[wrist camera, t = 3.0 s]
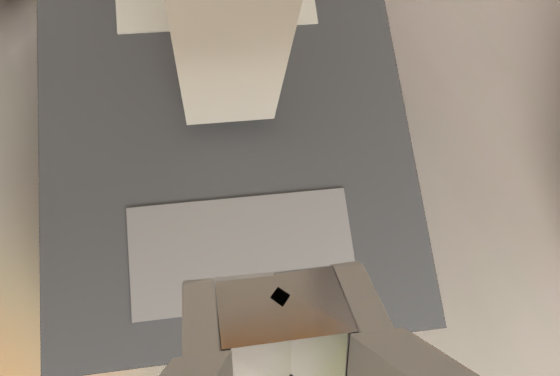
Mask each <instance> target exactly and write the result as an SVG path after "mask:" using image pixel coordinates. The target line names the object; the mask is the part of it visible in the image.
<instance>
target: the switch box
mask: <svg viewBox="0 0 560 376" xmlns="http://www.w3.org/2000/svg"><path fill="white" fill-rule="evenodd" d="M37 63H38V154H39V244H40V335H41V376H83V375H91V374H99V373H106V372H114V371H121V370H129V369H137V368H144V367H152V366H159V365H167V364H168V363H169V362H170V361H171V359H172V358H174V357H181V356H182V284H183V281H186V280H197V279H207V278H213V279H214V285H215V278H214V277H224V276H235V275H246V274H257V273H268V272H279V271H287V270H295V269H304V268H312V267H320V266H330V265H331V264H338V263H345V262H353V261H359V262H361V263H362V264H363V265H364V267H365V269H366V272H367V274H368V276H369V278H370V280H371V282H372V284H373V286H374V288H375V290H376V292H377V294H378V296H379V298H380V300H381V302H382V304H383V306H384V308H385V310H386V312H387V314H388V316H389V318H390V320H391V322H392V324H393V327H394V328H399V327H404V328H405V329H407V330H409V331H410V332H418V331H425V330H433V329H440V328H446V322H445V317H444V312H443V306H442V301H441V296H440V291H439V285H438V280H437V275H436V270H435V264H434V259H433V254H432V249H431V243H430V238H429V233H428V228H427V222H426V217H425V212H424V207H423V201H422V196H421V191H420V185H419V180H418V175H417V170H416V164H415V159H414V154H413V149H412V143H411V138H410V133H409V128H408V122H407V117H406V112H405V107H404V101H403V96H402V91H401V86H400V80H399V75H398V70H397V64H396V59H395V54H394V49H393V43H392V38H391V33H390V28H389V22H388V17H387V12H386V7H385V1H384V0H303V2H302V6H301V10H300V14H299V19H298V23H297V27H296V31H295V35H294V39H293V43H292V47H291V51H290V55H289V60H288V64H287V68H286V72H285V76H284V80H283V84H282V88H281V92H280V96H279V101H278V105H277V109H276V113H275V117H274V119H263V120H249V121H236V122H222V123H209V124H195V125H187V123H186V118H185V112H184V107H183V101H182V96H181V90H180V85H179V79H178V74H177V68H176V63H175V57H174V52H173V46H172V41H171V35H170V29H169V24H168V18H167V13H166V7H165V2H164V0H37ZM215 295H216V291H215ZM216 305H217V302H216ZM217 315H218V313H217Z"/></svg>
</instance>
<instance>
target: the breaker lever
mask: <svg viewBox="0 0 560 376" xmlns="http://www.w3.org/2000/svg"><path fill="white" fill-rule="evenodd" d="M164 2H165V7H166V13H167V18H168V24H169V29H170V35H171V41H172V46H173V52H174V57H175V63H176V68H177V74H178V79H179V85H180V90H181V96H182V101H183V107H184V112H185V118H186V123H187V125H195V124H209V123H222V122H236V121H249V120H263V119H274V117H275V113H276V109H277V105H278V101H279V96H280V92H281V88H282V84H283V80H284V76H285V72H286V68H287V64H288V60H289V55H290V51H291V47H292V43H293V39H294V35H295V31H296V27H297V23H298V19H299V14H300V10H301V6H302V2H303V0H164Z"/></svg>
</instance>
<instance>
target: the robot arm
mask: <svg viewBox="0 0 560 376" xmlns="http://www.w3.org/2000/svg"><path fill="white" fill-rule="evenodd" d="M214 278H215V285H214V279H213V278H207V279H197V280H186V281H183V284H182V356H181V357H174V358H172V359H171V361H170V362H169V363H168V365H167V366H166V367H165V369H164V370H163V371H162V372H161V374H160V375H159V376H479V375H478V374H476V373H475V372H473V371H472V370H470V369H468V368H467V367H465V366H464V365H462V364H461V363H459V362H457V361H456V360H454V359H453V358H451V357H449V356H448V355H446V354H445V353H443V352H442V351H440V350H438V349H437V348H435V347H434V346H432V345H431V344H429V343H427V342H426V341H424V340H423V339H421V338H420V337H418V336H416V335H415V334H413V333H412V332H410V331H409V330H407V329H405V328H404V327H399V328H394V327H393V324H392V322H391V320H390V318H389V316H388V314H387V312H386V310H385V308H384V306H383V304H382V302H381V300H380V298H379V296H378V294H377V292H376V290H375V288H374V286H373V284H372V282H371V280H370V278H369V276H368V274H367V272H366V269H365V267H364V265H363V264H362V263H361V262H359V261H353V262H345V263H338V264H331V265H330V266H320V267H312V268H304V269H295V270H287V271H279V272H268V273H257V274H246V275H235V276H224V277H214ZM215 291H216V295H215ZM216 302H217V305H216ZM217 313H218V315H217Z"/></svg>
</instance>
